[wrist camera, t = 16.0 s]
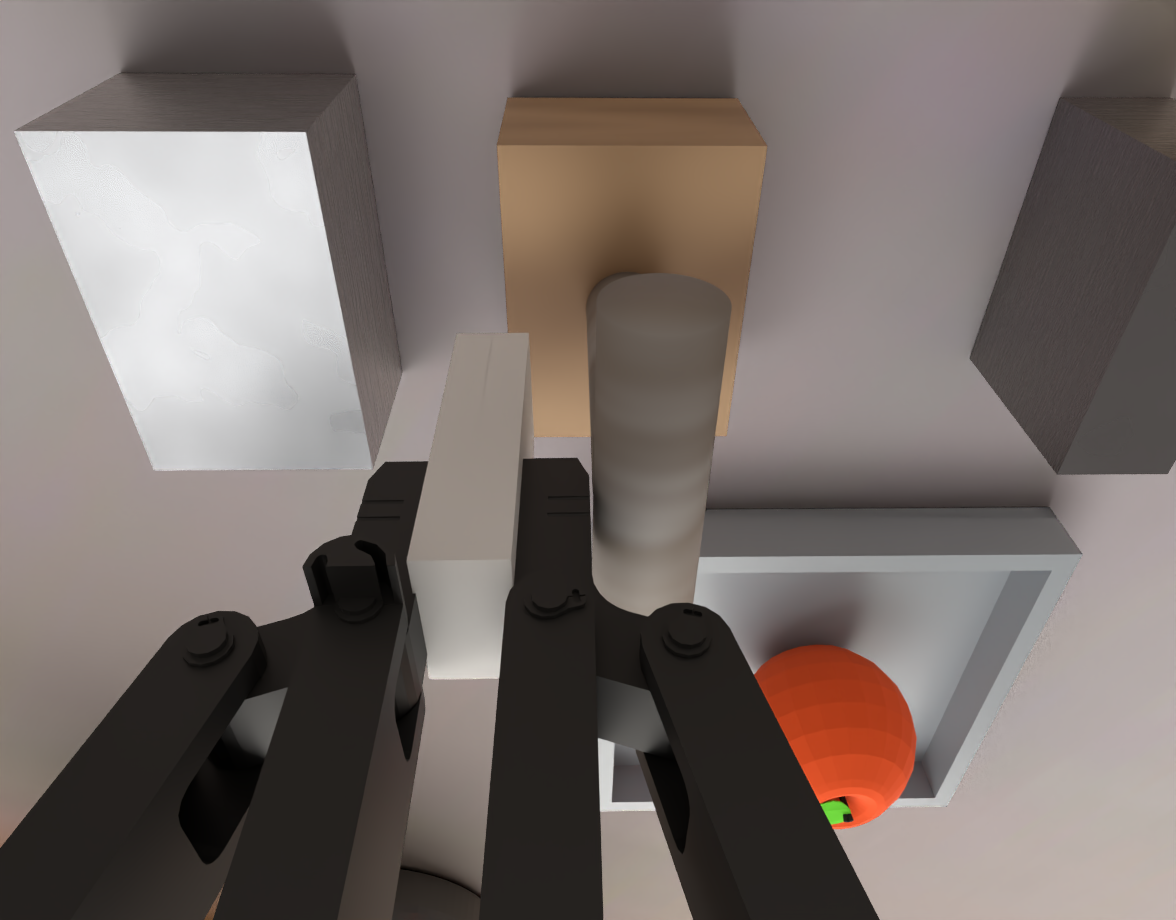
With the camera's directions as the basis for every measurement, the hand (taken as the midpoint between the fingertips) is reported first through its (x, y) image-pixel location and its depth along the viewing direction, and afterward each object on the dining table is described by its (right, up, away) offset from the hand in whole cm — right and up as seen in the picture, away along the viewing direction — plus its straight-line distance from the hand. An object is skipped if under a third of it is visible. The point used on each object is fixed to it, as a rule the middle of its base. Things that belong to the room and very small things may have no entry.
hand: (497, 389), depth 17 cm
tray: (+11, -10, +18) cm, 23 cm away
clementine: (+11, -10, +18) cm, 23 cm away
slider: (+3, +5, +6) cm, 8 cm away
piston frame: (+4, +5, +6) cm, 9 cm away
